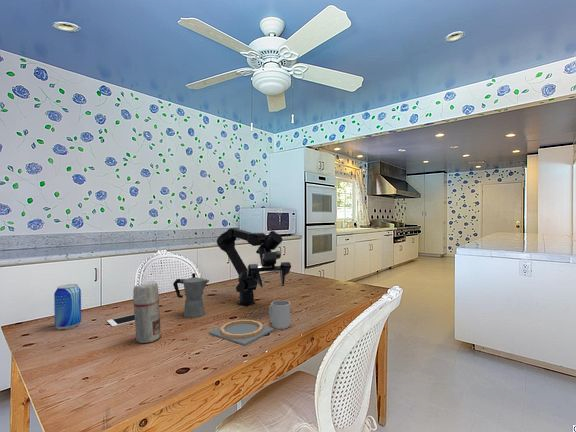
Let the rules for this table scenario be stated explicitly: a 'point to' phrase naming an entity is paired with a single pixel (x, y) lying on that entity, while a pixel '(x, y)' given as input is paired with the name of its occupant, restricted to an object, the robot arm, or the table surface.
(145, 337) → the spray can
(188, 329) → the table surface
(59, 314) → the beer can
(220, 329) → the collar mat
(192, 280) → the coffeepot
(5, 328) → the table surface
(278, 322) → the cup
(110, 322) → the cell phone
